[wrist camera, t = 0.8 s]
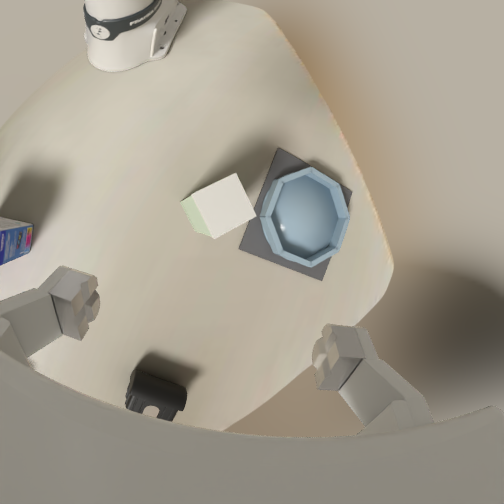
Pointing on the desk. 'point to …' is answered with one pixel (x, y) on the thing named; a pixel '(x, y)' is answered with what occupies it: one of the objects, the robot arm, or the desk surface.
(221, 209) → the tea tin
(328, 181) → the bowl
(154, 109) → the desk surface
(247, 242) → the mat
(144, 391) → the end cap
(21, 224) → the ink cartridge box
